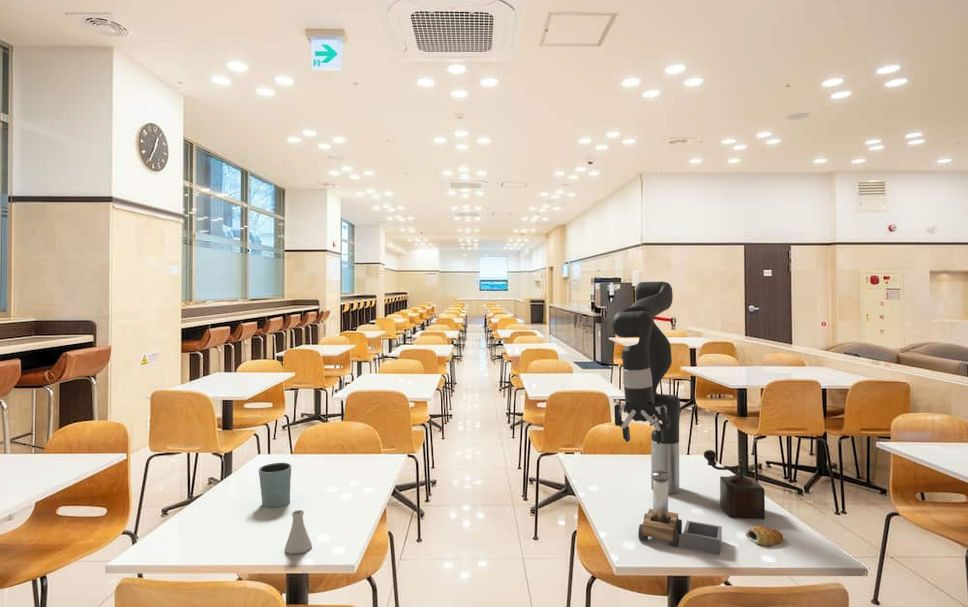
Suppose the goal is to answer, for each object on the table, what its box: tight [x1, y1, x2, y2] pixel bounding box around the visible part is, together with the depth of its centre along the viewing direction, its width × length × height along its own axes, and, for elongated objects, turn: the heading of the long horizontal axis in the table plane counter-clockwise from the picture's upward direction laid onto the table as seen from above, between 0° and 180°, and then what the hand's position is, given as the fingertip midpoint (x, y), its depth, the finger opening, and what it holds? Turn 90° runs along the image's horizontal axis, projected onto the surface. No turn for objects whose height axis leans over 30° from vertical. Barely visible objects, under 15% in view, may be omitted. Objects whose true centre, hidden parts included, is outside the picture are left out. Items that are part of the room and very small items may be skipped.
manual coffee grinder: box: [703, 449, 766, 520], centre depth 166 cm, size 16×11×18 cm
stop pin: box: [652, 471, 670, 524], centre depth 149 cm, size 5×5×15 cm
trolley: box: [638, 508, 683, 548], centre depth 150 cm, size 14×10×5 cm
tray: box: [682, 520, 723, 556], centre depth 144 cm, size 9×9×4 cm
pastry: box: [745, 525, 784, 547], centre depth 146 cm, size 9×7×4 cm
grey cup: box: [258, 462, 292, 509], centre depth 175 cm, size 10×10×12 cm
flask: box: [284, 509, 313, 555], centre depth 144 cm, size 7×7×10 cm
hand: (643, 441), depth 146 cm, fingers open, 8 cm apart
